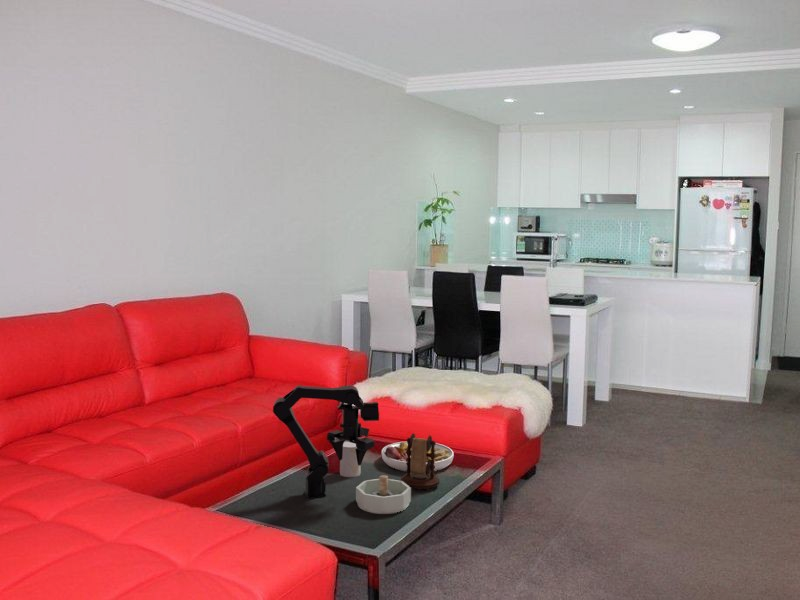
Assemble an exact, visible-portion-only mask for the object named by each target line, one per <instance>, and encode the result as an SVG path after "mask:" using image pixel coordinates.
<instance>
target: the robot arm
mask: <svg viewBox="0 0 800 600" xmlns="http://www.w3.org/2000/svg"><path fill="white" fill-rule="evenodd" d="M301 399H315V400H330V401H332V400H333V401H336V402H338V403H340V404H339V405H337V410H342V423H340V424H339V426H340V428H342V431H341V430H338V429H335V430H332V431H329V432H328V433H327V434H326V440H327V441H328V442H329V444H330V445H331V446H332V448H333V450H334V452H335V454H336V456H337V458H338V460H339V461H340V460H342V456H343V444H344V442H346V441H347V442H351V443H355V444H356V447H357V449H356V456H357V463H358V466H360V465H361V466H362V462H363V460H364V457H365V456H366V453H367V452H368V451H369V450H371V449H372V448H374V447H375V440H374V439H373V438H369V437H368V436H369V432H370V428H367V427H363V426H362V423H361V422H359V418H360V419H361V420H362V421H363V422H379V421H380V411H379V402H378V401H373V402H364V400H363V399H362V398H361V396H360V394H359V389H358V388H357V387H356V386H354V385H342V386H338V387H325V386H323V387H322V386H308V385H307V386H306V385H300V384H299V385H296V386H295V387H294V388H293V389H292V390H291V391H289V392H287V393H286V394H285V395H284V396H283V397H279V398H277V399H275V401H274V402H273V407H272V412H273V414H274V415H275V416H276V418H277V419H278V420H279V421H281V422H282V423H283V424H284V425H285V426H286V427H287V428H288V430H289V431H290V433H291V434H292V435H291V436H293V437H294V439H295V441H296V442H297V444H298V446H299V447H300V449H301V450H302V451H303V453H304V454H305V456H306V457H307V460H308V463H309V467H308V468H307V471H306V477H305V491H304V492H303V493H304V495H305V496H306V497H307V498H308V499H317V498H323V497H324V498H325V497H326V496H327V495H326V491H327V489H326V488H327V487H326V486H327V485H326V483H327V482H326V481H325V476H326V475H328V473H329V457H328V456H327V455H326V454H325V452H324V450H323V449H321V450H320V451H319V450H318V449H317V448H316V447H315V446H314V444H313V443H312V441H311V439H310V438H309V436H308V434H306V432H305V431H304V429H303V427H302V426H301V424H300V423H299V421H298V419H297V418H296V415H295V412H294V409H293V407H294V406H295V405H296V403H298V402H299V400H301Z"/></svg>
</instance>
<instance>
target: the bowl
mask: <svg viewBox="0 0 800 600" xmlns="http://www.w3.org/2000/svg"><path fill="white" fill-rule="evenodd" d="M407 443H408V442H407V440H406V441H399V442H394V443H390V444H387V445H385V446H384V447H383V448H382V449H381V457H382V460H383V462H384V463H385V464H386V465H387V466H388V467H391V468H393V469H394V468H395V469H396V470H397V471H401V472H406V471H407V465H406V463H407V457H408V456H407V454H406V451H407V450H408V449H407V446H408V444H407ZM435 443H436V444H435V447H434V449H435V452H434V453H435V454H436V456H435V459H434V462H435V463H434V466H435V469H433V470H434V471H433V472H437V470H438V471H440V470H444V469H446V468H447V467H448V466H449V465H450V464H452V462H453V459H454V456H455V455H454V451H453V450H452V448H450V447H448V446H446V445H444V444H440V443H437V442H435ZM431 446H432V445H431ZM431 448H432V447H431ZM431 448H430V450H429V452H426V453H429V454H430V453H432V452H431ZM410 450H411V449H410ZM410 458H411V456H410ZM429 459H431V458H430V456H429V457H427V456H426V464H427V462H428V460H429ZM430 473H431V471H430Z"/></svg>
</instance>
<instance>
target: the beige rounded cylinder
mask: <svg viewBox="0 0 800 600" xmlns="http://www.w3.org/2000/svg"><path fill="white" fill-rule="evenodd" d="M378 479H379V496H383V497H384V496H388V479H389V476H388V475H383V474H382V475H379V478H378Z"/></svg>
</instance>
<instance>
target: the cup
mask: <svg viewBox="0 0 800 600" xmlns="http://www.w3.org/2000/svg"><path fill="white" fill-rule="evenodd" d="M356 449H357V447H356V444H355V443H351V442H347V441H344V444H343V456H342V460H339V475H340V476H341V477H344V478H356V477H358V476H360V475H361V471H362V470H361V467H362V464H361V465H360V466H358V463H357V456H356Z"/></svg>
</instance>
